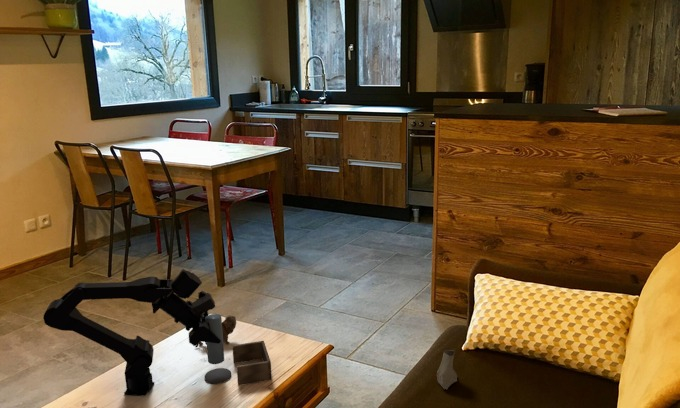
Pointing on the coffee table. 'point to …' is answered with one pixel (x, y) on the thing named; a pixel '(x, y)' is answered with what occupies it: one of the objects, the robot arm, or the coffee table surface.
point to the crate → (254, 370)
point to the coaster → (217, 375)
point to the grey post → (215, 349)
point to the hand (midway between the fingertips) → (219, 338)
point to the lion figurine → (225, 328)
